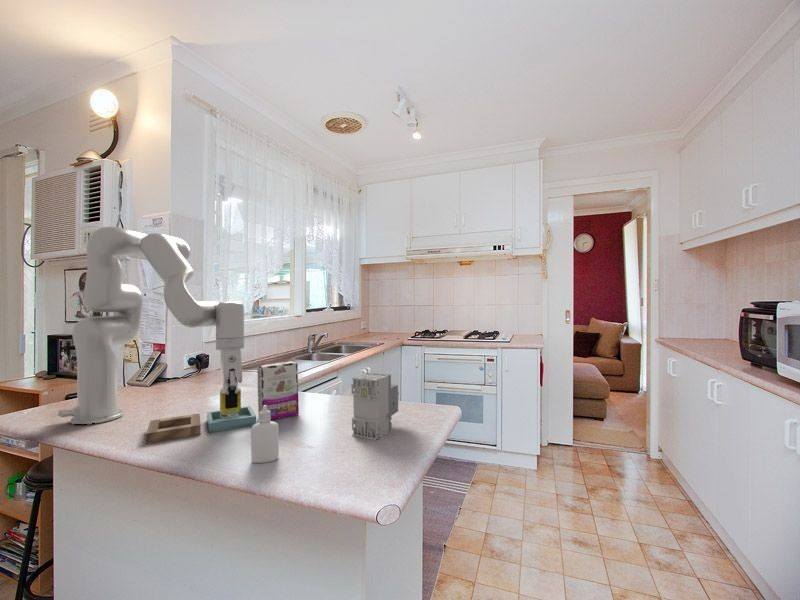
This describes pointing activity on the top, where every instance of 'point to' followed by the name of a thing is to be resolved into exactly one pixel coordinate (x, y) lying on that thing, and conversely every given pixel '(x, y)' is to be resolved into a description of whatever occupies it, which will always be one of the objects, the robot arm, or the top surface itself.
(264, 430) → the eye dropper bottle
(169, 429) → the brown rectangular holder box
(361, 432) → the circuit breaker
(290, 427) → the top surface
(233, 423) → the tray
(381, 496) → the top surface
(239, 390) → the supplement bottle
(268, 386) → the candy bar box
